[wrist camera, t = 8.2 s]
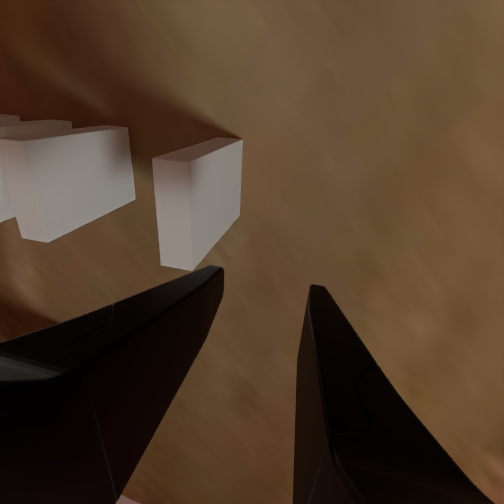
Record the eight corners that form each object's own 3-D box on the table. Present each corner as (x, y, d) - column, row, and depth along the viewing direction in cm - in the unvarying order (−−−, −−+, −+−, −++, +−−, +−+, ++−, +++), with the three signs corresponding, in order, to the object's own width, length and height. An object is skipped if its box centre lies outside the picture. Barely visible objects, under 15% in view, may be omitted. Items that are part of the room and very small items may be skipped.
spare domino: (242, 139, 19) (188, 162, 12) (239, 215, 22) (192, 270, 15) (217, 136, 20) (150, 158, 13) (216, 212, 22) (159, 265, 15)
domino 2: (71, 121, 22) (-56, 131, 15) (84, 191, 24) (-21, 229, 17) (50, 119, 22) (-83, 128, 15) (65, 188, 24) (-45, 224, 17)
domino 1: (127, 127, 21) (21, 141, 14) (135, 199, 23) (47, 242, 16) (105, 124, 21) (-10, 137, 14) (115, 196, 23) (21, 237, 16)
